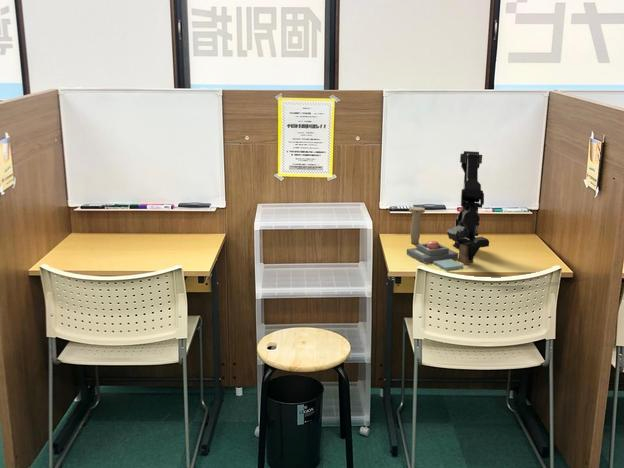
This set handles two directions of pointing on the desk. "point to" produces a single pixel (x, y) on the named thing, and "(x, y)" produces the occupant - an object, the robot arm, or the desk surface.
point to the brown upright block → (464, 254)
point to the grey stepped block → (431, 253)
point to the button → (432, 245)
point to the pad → (448, 264)
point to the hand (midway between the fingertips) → (465, 258)
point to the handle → (416, 223)
